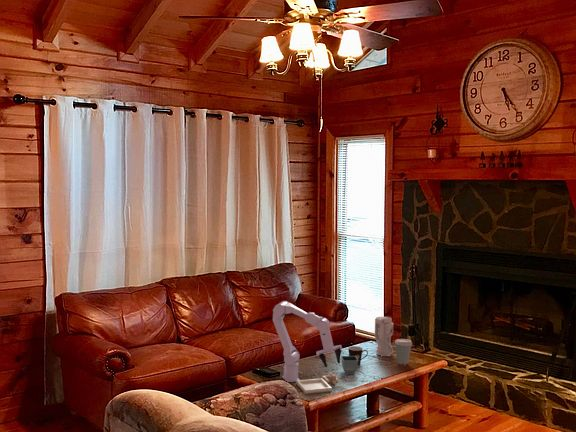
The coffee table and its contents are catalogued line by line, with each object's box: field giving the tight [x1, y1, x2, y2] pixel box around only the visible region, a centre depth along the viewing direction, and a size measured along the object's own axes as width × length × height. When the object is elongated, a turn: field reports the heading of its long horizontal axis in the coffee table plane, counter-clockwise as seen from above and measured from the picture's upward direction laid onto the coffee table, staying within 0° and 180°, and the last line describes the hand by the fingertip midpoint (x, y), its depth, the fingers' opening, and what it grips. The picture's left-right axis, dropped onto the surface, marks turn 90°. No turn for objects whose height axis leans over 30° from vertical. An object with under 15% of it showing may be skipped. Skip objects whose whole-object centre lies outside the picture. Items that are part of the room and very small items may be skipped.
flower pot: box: [340, 355, 359, 375], centre depth 358 cm, size 9×9×9 cm
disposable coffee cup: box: [394, 338, 413, 365], centre depth 377 cm, size 11×11×15 cm
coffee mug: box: [347, 345, 369, 366], centre depth 374 cm, size 12×9×10 cm
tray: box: [296, 377, 333, 395], centre depth 334 cm, size 15×15×2 cm
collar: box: [321, 373, 339, 385], centre depth 345 cm, size 10×7×4 cm
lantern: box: [374, 316, 395, 357], centre depth 393 cm, size 13×10×25 cm
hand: (332, 364), depth 336 cm, fingers open, 7 cm apart
